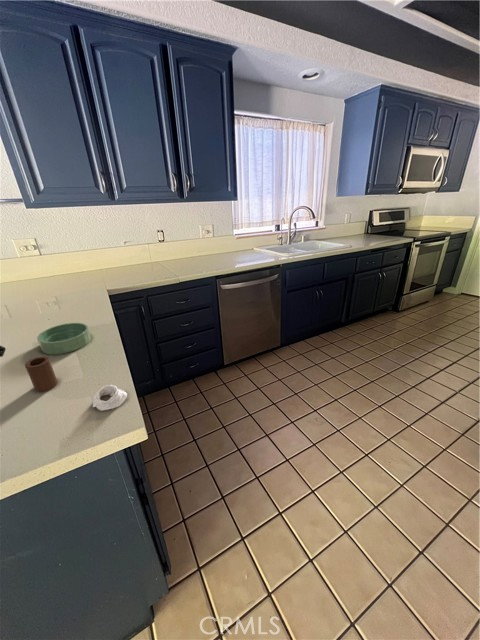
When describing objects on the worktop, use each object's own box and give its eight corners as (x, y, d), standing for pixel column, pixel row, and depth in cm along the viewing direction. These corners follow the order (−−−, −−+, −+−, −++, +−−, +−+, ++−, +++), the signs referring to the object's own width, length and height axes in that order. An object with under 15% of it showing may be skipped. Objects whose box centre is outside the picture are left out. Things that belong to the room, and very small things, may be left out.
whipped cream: (128, 394, 72) (126, 378, 71) (126, 409, 66) (124, 392, 65) (96, 398, 70) (93, 382, 68) (91, 414, 64) (88, 397, 62)
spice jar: (32, 395, 71) (21, 369, 67) (39, 383, 75) (29, 357, 72) (54, 391, 72) (44, 365, 68) (60, 379, 77) (51, 354, 73)
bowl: (35, 359, 86) (29, 345, 84) (50, 337, 100) (46, 325, 97) (86, 351, 90) (82, 338, 88) (94, 332, 104) (91, 320, 101)
